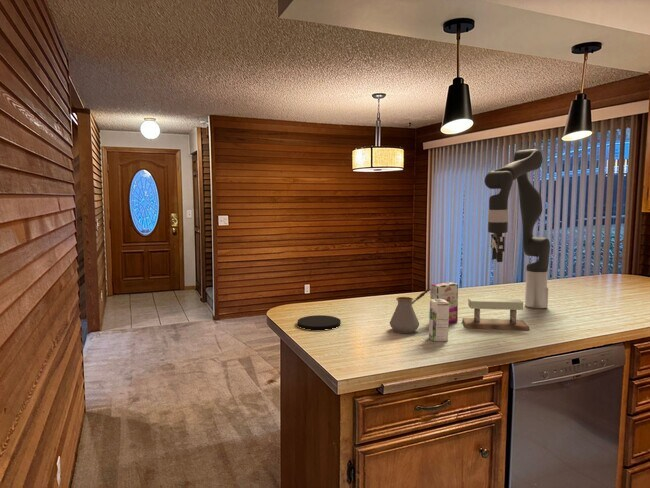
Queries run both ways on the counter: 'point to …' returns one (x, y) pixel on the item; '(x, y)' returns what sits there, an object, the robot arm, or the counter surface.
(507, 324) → the peg rack
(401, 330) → the coffee pot
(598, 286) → the counter surface
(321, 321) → the wireless charger
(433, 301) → the syrup box
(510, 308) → the shelf board
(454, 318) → the candy bar box
